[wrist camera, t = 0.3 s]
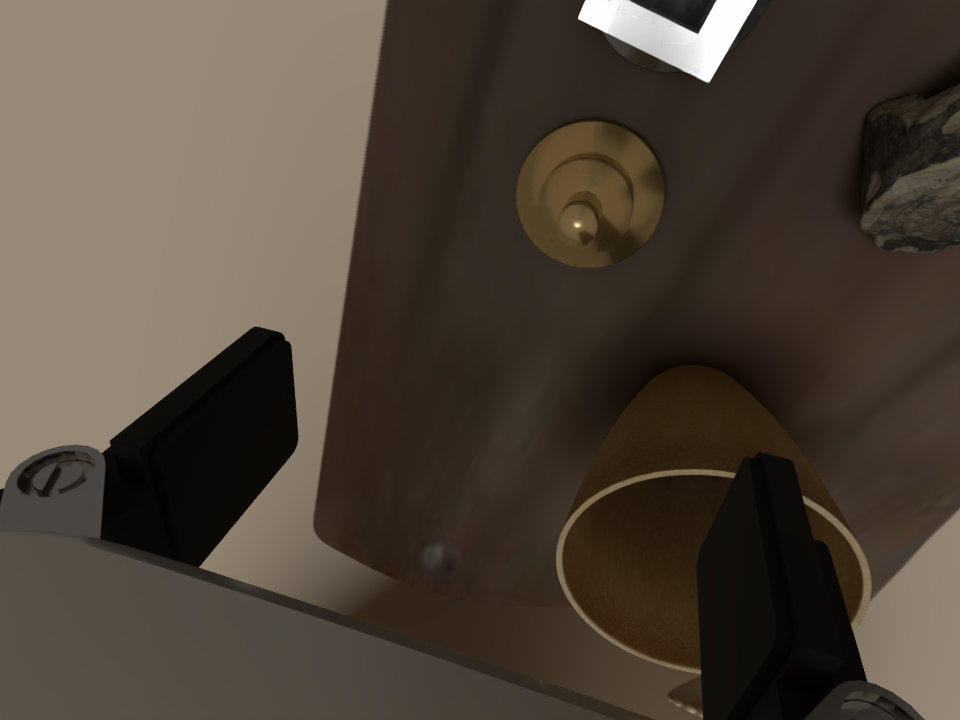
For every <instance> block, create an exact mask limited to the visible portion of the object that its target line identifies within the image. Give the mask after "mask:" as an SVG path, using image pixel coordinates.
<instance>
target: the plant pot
mask: <svg viewBox="0 0 960 720" xmlns="http://www.w3.org/2000/svg"><path fill="white" fill-rule="evenodd" d="M758 452H762V453H766V454H770V455H775V456H779V457H783V458H787V459H790V460H792V461H793V463H794V466H795V470H796V474H797V477H798V481H799V485H800V489H801V493H802V496H803V500H804V504H805V508H806V512H807V516H808V519H809V523H810V527H811V531H812V535H813V538H814V539H816V540H819V541H823V542H824V543H825V544H826V545H827V546H828V548H829V551H830V553H831V556H832V560H833V563H834V567H835V570H836V574H837V577H838V581H839V584H840V588H841V591H842V595H843V598H844V602H845V605H846V609H847V612H848V616H849V619H850V623H851V626H852V630H853V631H854V630H855V629H856V628H857V626H858V625H859V624H860V623H861V621H862V619H863V617H864V615H865V613H866V611H867V608H868V605H869V601H870V598H871V589H872V584H871V574H870V569H869V565H868V562H867V560H866V557H865V555H864V553H863V551H862V549H861V547H860V545H859V543H858V542H857V540H856V538H855V536H854V534H853V533H852V531H851V529H850V527H849V525H848V524H847V522H846V520H845V519H844V517H843V515H842V513H841V512H840V510H839V508H838V507H837V505H836V503H835V502H834V500H833V498H832V497H831V495H830V493H829V492H828V490H827V488H826V487H825V485H824V484H823V482H822V481H821V479H820V477H819V476H818V474H817V473H816V471H815V470H814V468H813V467H812V465H811V464H810V462H809V461H808V460H807V458H806V457H805V455H804V454H803V453H802V451H801V450H800V449H799V447H798V446H797V445H796V443H795V442H794V441H793V440H792V438H791V437H790V436H789V435H788V433H787V432H786V431H785V430H784V429H783V427H782V426H781V425H780V424H779V423H778V422H777V420H776V419H775V418H774V417H773V416H772V415H771V414H770V413H769V411H768V410H767V409H766V408H765V407H764V406H763V405H762V404H761V403H760V402H759V401H758V400H756V399H755V398H754V397H753V396H752V395H751V394H750V393H749V392H748V391H747V390H746V389H744V388H743V387H742V386H741V385H740V384H739V383H737V382H736V381H735V380H734V379H732V378H731V377H730V376H728V375H727V374H725V373H723V372H721V371H719V370H716V369H714V368H710V367H706V366H700V365H684V366H679V367H675V368H671V369H668V370H666V371H664V372H662V373H660V374H659V375H657V376H656V377H654V378H653V379H652V380H651V381H650V382H649V383H647V385H646V386H645V387H644V388H643V389H642V390H641V391H640V392H639V393H638V394H637V395H636V396H635V398H634V399H633V400H632V401H631V402H630V403H629V405H628V406H627V407H626V409H625V410H624V411H623V412H622V414H621V415H620V417H619V418H618V419H617V421H616V422H615V424H614V425H613V427H612V428H611V430H610V431H609V433H608V434H607V436H606V438H605V439H604V441H603V443H602V445H601V446H600V448H599V450H598V452H597V453H596V455H595V457H594V459H593V461H592V463H591V465H590V467H589V469H588V471H587V473H586V475H585V478H584V480H583V482H582V484H581V486H580V489H579V491H578V493H577V496H576V498H575V500H574V502H573V505H572V507H571V509H570V512H569V514H568V517H567V519H566V522H565V524H564V527H563V529H562V532H561V534H560V537H559V541H558V545H557V552H556V566H557V572H558V577H559V581H560V583H561V586H562V588H563V590H564V592H565V594H566V596H567V598H568V600H569V601H570V603H571V604H572V606H573V607H574V609H575V610H576V611H577V612H578V614H579V615H580V616H581V617H582V618H583V619H584V620H585V621H586V622H587V623H588V624H589V625H590V626H591V627H592V628H593V629H594V630H596V631H597V632H598V633H599V634H601V635H602V636H603V637H604V638H606V639H607V640H609V641H611V642H612V643H613V644H615V645H617V646H619V647H620V648H622V649H624V650H626V651H628V652H630V653H632V654H634V655H636V656H639V657H641V658H643V659H646V660H648V661H652V662H654V663H657V664H660V665H663V666H666V667H669V668H673V669H678V670H682V671H687V672H693V673H698V674H701V659H700V636H699V613H698V591H697V559H698V555H699V552H700V549H701V547H702V545H703V543H704V540H705V538H706V536H707V534H708V532H709V530H710V528H711V526H712V523H713V521H714V519H715V517H716V515H717V513H718V511H719V509H720V506H721V504H722V502H723V500H724V498H725V496H726V494H727V492H728V489H729V487H730V485H731V483H732V481H733V479H734V477H735V475H736V473H737V470H738V468H739V466H740V464H741V462H742V460H743V459H744V458H745V457H751V458H754V456H755V455H756V454H757V453H758Z"/></svg>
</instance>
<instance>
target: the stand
mask: <svg viewBox="0 0 960 720" xmlns="http://www.w3.org/2000/svg"><path fill="white" fill-rule="evenodd" d="M638 1H640V2H642V3H644V4H646V5H648V6H650V7H652V8H654V9H656V10H658V11H660V12H662V13H664V14H666V15H668V16H670V17H672V18H674V19H676V20H678V21H680V22H682V23H684V24H686V25H689V26H691V27H693V28H695V29H696V27H697V25H698V23H699V21H700V20H701V18H702V16H703V14H704V12H705V10H706V8H707V7H708V5H709V3H710V1H711V0H638ZM769 2H770V0H757V1H756V3H755V4H754V6H753V8H752V10H751V11H750V13H749V15H748V16H747V18H746V20H745V22H744V23H743V25H742V27H741V28H740V30H739V32H738V34H737V35H736V37H735V39H734V41H733V42H732V44H731V46H730V47H729V49H728V51H727V52H729V51H730V50H731V49H732V48H734V47H735V46H736V45H737V44H738V43H739V42H740V41H741V40H743V39H744V38H745V37H746V36H747V34H748V33H749V32H750V31H751V30H752V28H753V27H754V26H755V25H756V23H757V22H758V20H759V19H760V17H761V16H762V14H763V13H764V11H765V9H766V7H767V6H768V4H769ZM602 32H603V34H604V35H605V37H606V38H607V40H608V41H609V43H610V44H611V45H612V46H613V47H614V48H615V50H616V51H617V52H618V53H620V54H621V55H622V56H623V57H624V58H626V59H627V60H629V61H630V62H632V63H634V64H636V65H638V66H640V67H643V68H645V69H649V70H653V71H658V72H681V71H683V70H681V69H679V68H677V67H675V66H673V65H671V64H669V63H667V62H665V61H663V60H661V59H659V58H657V57H655V56H653V55H651V54H649V53H647V52H644V51H642V50H640V49H638V48H636V47H634V46H632V45H630V44H628V43H626V42H624V41H622V40H620V39H618V38H616V37H614V36H612V35H610V34H608V33H606V32H604V31H602Z"/></svg>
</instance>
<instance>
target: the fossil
mask: <svg viewBox="0 0 960 720" xmlns="http://www.w3.org/2000/svg"><path fill="white" fill-rule="evenodd" d="M860 230H862V231H863V233H865V234H868V235H873V238H874V242H875V244H876V245H877V246H878V247H879V248H880V249H881V250H885V251H893V252H896V251H904V252H910V253H927V254H929V253H933V252H937V251H942V250H943V249H946V248H950V247H953V246H956V245H959V244H960V83H958V84H957V85H955V86H953V87H951V88H949V89H947V90H945V91H943V92H941V93H939V94H937V95H935V96H932V97H930V98H927V99H924V98H923V96H918V95H917V94H915V93H914V94H911V95H908V96H905V97H902V98H900V99H891V100H889V101H886V102H884V103H882V104H880V105H878V106H877V107H875V108H874V109H873V110H872V111H871V112H870V113H869V114H868V117H867V123H866V125H865V135H864V159H863V166H862V204H861V218H860Z"/></svg>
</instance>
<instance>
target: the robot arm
mask: <svg viewBox="0 0 960 720" xmlns="http://www.w3.org/2000/svg"><path fill="white" fill-rule="evenodd" d="M297 443H298V427H297V413H296V400H295V387H294V375H293V362H292V349H291V344H290V343H289V342H288V341H285V337H284V335H283V334H282V333H280V332H277V331H273V330H269V329H265V328H261V327H253V328H252V329H250V330H249V331H248V332H246V333H245V334H244V335H243V336H241V337H240V338H239V339H237V340H236V341H235V342H234V343H232V344H231V345H230V346H229V347H227V348H226V349H225V350H224V351H222V352H221V353H220V354H219V355H217V356H216V357H215V358H214V359H212V360H211V361H210V362H208V363H207V364H206V365H205V366H203V367H202V368H201V369H200V370H198V371H197V372H196V373H195V374H194V375H192V376H191V377H190V378H188V379H187V380H186V381H184V382H183V383H182V384H181V385H179V386H178V387H177V388H176V389H174V390H173V391H172V392H171V393H170V394H168V395H167V396H166V397H164V398H163V399H162V400H161V401H159V402H158V403H157V404H155V405H154V406H153V407H152V408H150V409H149V410H148V411H147V412H145V413H144V414H143V415H142V416H140V417H139V418H138V419H137V420H135V421H134V422H133V423H132V424H130V425H129V426H128V427H127V428H125V429H124V430H123V431H122V432H120V433H119V434H118V435H116V436H115V437H114V438H113V439H111V440H110V444H111V446H110V447H109V448H108V449H106V450H105V451H104V452H103V453H100V452H99V451H98V450H97V449H94V448H91V447H89V446H82V445H68V446H60V447H56V448H52V449H48V450H45V451H43V452H40V453H38V454H36V455H34V456H31V457H30V458H28V459H27V460H25V461H24V462H22V463H21V464H19V465H18V466H17V467H16V468H15V469H14V470H13V471H12V472H11V473H10V475H9V477H8V479H7V481H6V484H5V488H4V489H0V720H653V719H651V718H648V717H645V716H642V715H640V714H637V713H634V712H631V711H628V710H625V709H623V708H620V707H617V706H614V705H612V704H609V703H606V702H603V701H600V700H597V699H594V698H592V697H589V696H586V695H582V694H580V693H577V692H574V691H571V690H568V689H565V688H562V687H559V686H556V685H553V684H550V683H547V682H544V681H541V680H538V679H535V678H532V677H529V676H526V675H523V674H520V673H517V672H514V671H511V670H508V669H505V668H502V667H500V666H496V665H494V664H490V663H488V662H485V661H482V660H478V659H476V658H472V657H469V656H467V655H464V654H461V653H458V652H455V651H452V650H448V649H446V648H443V647H440V646H437V645H434V644H431V643H427V642H425V641H421V640H418V639H416V638H412V637H409V636H406V635H403V634H400V633H397V632H394V631H391V630H388V629H385V628H382V627H379V626H376V625H373V624H370V623H367V622H364V621H361V620H358V619H355V618H352V617H349V616H346V615H343V614H339V613H337V612H334V611H331V610H328V609H325V608H321V607H318V606H315V605H312V604H309V603H306V602H303V601H300V600H297V599H294V598H291V597H288V596H285V595H282V594H278V593H275V592H272V591H269V590H266V589H263V588H260V587H257V586H254V585H251V584H247V583H245V582H241V581H238V580H235V579H232V578H229V577H226V576H223V575H220V574H217V573H214V572H210V571H207V570H204V569H201V568H199V566H201V564H202V563H203V562H204V561H205V559H206V558H207V557H208V556H209V555H210V553H211V552H212V551H213V550H214V548H215V547H216V546H217V545H218V544H219V542H220V541H221V540H222V539H223V538H224V536H225V535H226V534H227V533H228V532H229V530H230V529H231V528H232V527H233V526H234V524H235V523H236V522H237V521H238V520H239V518H240V517H241V516H242V515H243V513H244V512H245V511H246V510H247V509H248V507H249V506H250V505H251V504H252V503H253V501H254V500H255V499H256V498H257V496H258V495H259V494H260V493H261V492H262V490H263V489H264V488H265V487H266V486H267V484H268V483H269V482H270V481H271V480H272V478H273V477H274V476H275V475H276V473H277V472H278V471H279V470H280V469H281V467H282V466H283V465H284V464H285V463H286V461H287V460H288V459H289V458H290V456H291V455H292V454H293V453H294V451H295V449H296V446H297ZM697 591H698V613H699V636H700V659H701V681H702V704H703V720H925V719H924V718H923V717H922V716H921V715H920V714H919V713H918V712H917V711H915V709H913V707H912V706H911V705H909V704H908V703H907V702H905V701H904V700H903V699H901V698H899V697H898V696H897V695H896V694H894V693H893V692H891V691H889V690H887V689H884V688H883V687H880V686H878V685H876V684H873V683H869V682H867V679H866V675H865V672H864V668H863V665H862V662H861V658H860V654H859V651H858V648H857V644H856V640H855V637H854V633H853V630H852V626H851V623H850V619H849V616H848V612H847V609H846V605H845V602H844V598H843V595H842V591H841V588H840V584H839V581H838V577H837V574H836V570H835V567H834V563H833V560H832V556H831V553H830V551H829V548H828V546H827V545H826V544H825V543H824V542H823V541H819V540H816V539H814V538H813V535H812V531H811V527H810V523H809V519H808V516H807V512H806V508H805V504H804V500H803V496H802V493H801V489H800V485H799V481H798V477H797V474H796V470H795V466H794V463H793V461H792V460H790V459H787V458H783V457H779V456H775V455H770V454H766V453H762V452H758V453H757V454H756V455H755V456H754V458H751V457H745V458H744V459H743V460H742V462H741V464H740V466H739V468H738V470H737V473H736V475H735V477H734V479H733V481H732V483H731V485H730V487H729V489H728V492H727V494H726V496H725V498H724V500H723V502H722V504H721V506H720V509H719V511H718V513H717V515H716V517H715V519H714V521H713V523H712V526H711V528H710V530H709V532H708V534H707V536H706V538H705V540H704V543H703V545H702V547H701V549H700V552H699V555H698V559H697Z"/></svg>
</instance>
